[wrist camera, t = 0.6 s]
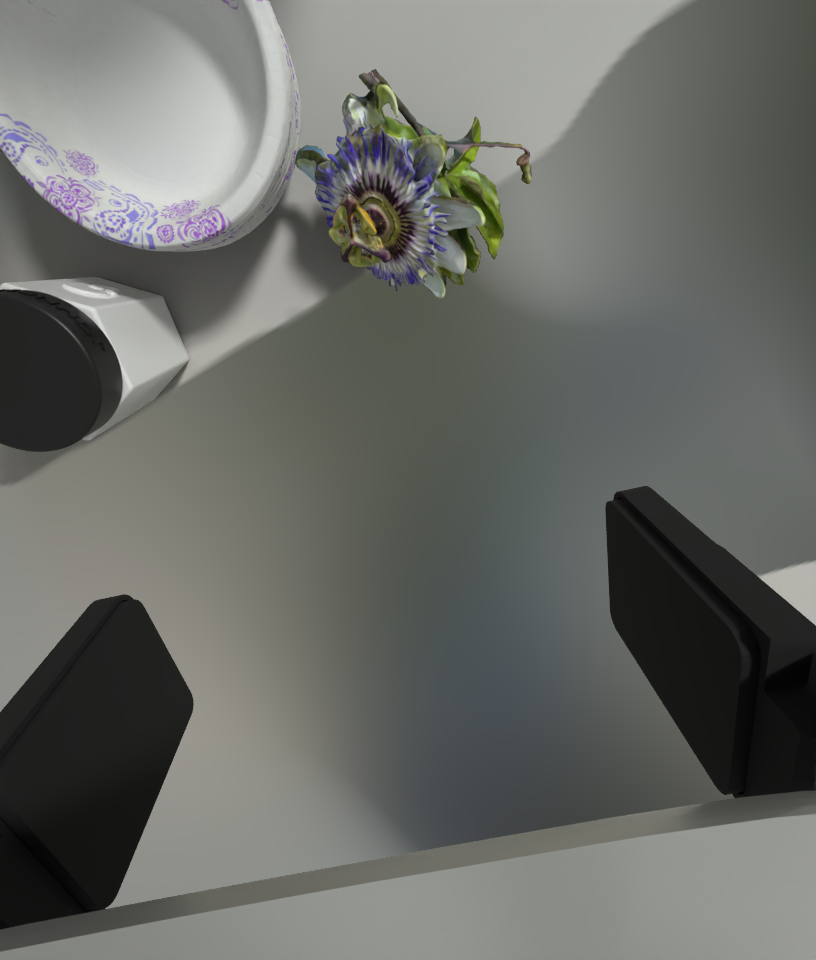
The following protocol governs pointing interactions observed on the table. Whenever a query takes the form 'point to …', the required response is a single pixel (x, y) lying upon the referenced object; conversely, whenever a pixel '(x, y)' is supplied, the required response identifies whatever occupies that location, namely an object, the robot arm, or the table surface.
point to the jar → (80, 358)
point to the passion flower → (405, 193)
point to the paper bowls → (150, 115)
